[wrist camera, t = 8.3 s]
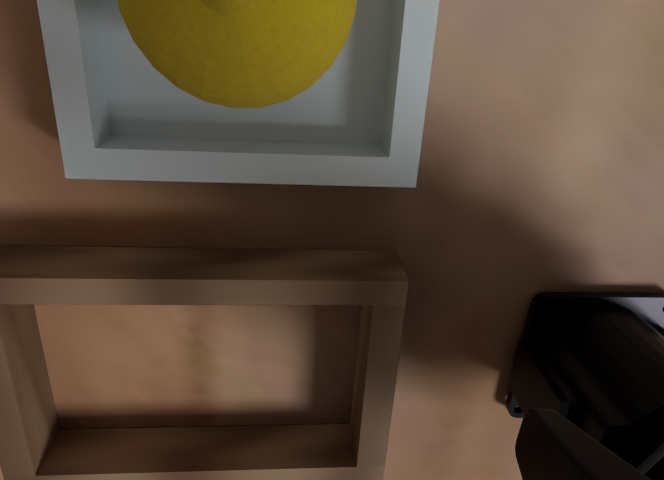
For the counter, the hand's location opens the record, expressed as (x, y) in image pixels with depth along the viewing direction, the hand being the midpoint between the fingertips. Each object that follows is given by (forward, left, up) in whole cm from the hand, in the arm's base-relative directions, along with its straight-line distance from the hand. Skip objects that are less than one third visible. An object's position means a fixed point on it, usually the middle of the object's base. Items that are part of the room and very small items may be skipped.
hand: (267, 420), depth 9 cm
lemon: (+1, -7, -11) cm, 13 cm away
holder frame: (+3, +7, -12) cm, 14 cm away
